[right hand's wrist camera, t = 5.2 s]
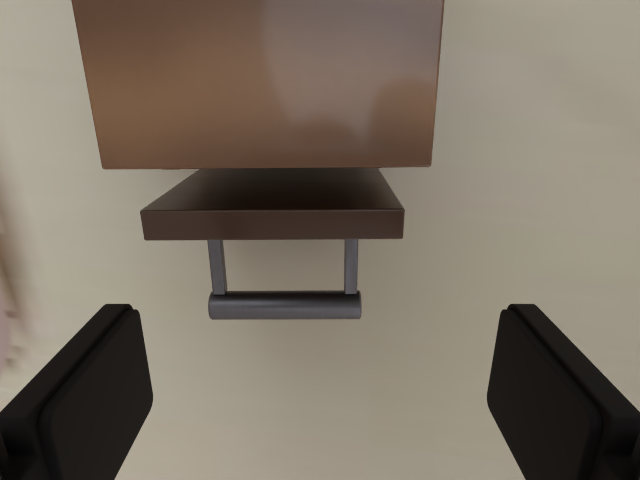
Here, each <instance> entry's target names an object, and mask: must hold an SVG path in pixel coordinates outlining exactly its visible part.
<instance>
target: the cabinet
mask: <svg viewBox="0 0 640 480" xmlns="http://www.w3.org/2000/svg"><path fill="white" fill-rule="evenodd" d="M72 5H73V11H74V16H75V22H76V27H77V33H78V38H79V44H80V49H81V54H82V60H83V65H84V71H85V76H86V82H87V87H88V92H89V98H90V103H91V109H92V114H93V120H94V125H95V130H96V136H97V141H98V147H99V152H100V158H101V163H102V168H103V169H224V168H359V167H430V166H431V160H432V148H433V136H434V123H435V111H436V99H437V86H438V74H439V61H440V49H441V37H442V24H443V12H444V0H72Z"/></svg>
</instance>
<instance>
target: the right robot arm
mask: <svg viewBox="0 0 640 480" xmlns="http://www.w3.org/2000/svg"><path fill="white" fill-rule="evenodd" d="M152 402H153V392H152V386H151V380H150V374H149V368H148V362H147V356H146V349H145V343H144V337H143V331H142V325H141V319H140V314H139V312H138V310H133V308H132V306H131V305H130V304H105V305H104V306H103V307H102V308H101V309H100V310H99V311H98V312H97V313H96V314H95V315H94V316H93V317H92V318H91V319H90V320H89V321H88V322H87V323H86V324H85V325H84V326H83V327H82V328H81V329H80V331H79V332H78V333H77V334H76V335H75V336H74V337H73V338H72V339H71V340H70V341H69V342H68V343H67V344H66V345H65V346H64V347H63V348H62V349H61V350H60V351H59V352H58V353H57V354H56V355H55V356H54V357H53V358H52V359H51V360H50V361H49V362H48V363H47V365H46V366H45V367H44V368H43V369H42V370H41V371H40V372H39V373H38V374H37V375H36V376H35V377H34V378H33V379H32V380H31V381H30V382H29V383H28V384H27V385H26V386H25V387H24V388H23V389H22V390H21V391H20V392H19V393H18V394H17V395H16V396H15V398H14V399H13V400H12V401H11V402H10V403H9V404H8V405H7V406H6V407H5V408H4V409H3V410H2V411H1V412H0V480H114V479H115V477H116V475H117V473H118V471H119V470H120V468H121V466H122V464H123V462H124V460H125V458H126V456H127V454H128V452H129V450H130V448H131V446H132V444H133V443H134V441H135V439H136V437H137V435H138V433H139V431H140V429H141V427H142V425H143V423H144V421H145V419H146V417H147V415H148V414H149V412H150V409H151V407H152ZM487 402H488V407H489V409H490V412H491V414H492V415H493V417H494V419H495V421H496V423H497V425H498V427H499V429H500V431H501V433H502V435H503V437H504V439H505V441H506V443H507V444H508V446H509V448H510V450H511V452H512V454H513V456H514V458H515V460H516V462H517V464H518V466H519V468H520V470H521V471H522V473H523V475H524V477H525V479H526V480H640V412H639V411H638V410H637V409H636V408H635V407H634V406H633V405H632V404H631V403H630V402H629V401H628V400H627V399H626V398H625V396H624V395H623V394H622V393H621V392H620V391H619V390H618V389H617V388H616V387H615V386H614V385H613V384H612V383H611V382H610V381H609V380H608V379H607V378H606V377H605V376H604V375H603V374H602V373H601V372H600V371H599V370H598V369H597V368H596V367H595V366H594V365H593V363H592V362H591V361H590V360H589V359H588V358H587V357H586V356H585V355H584V354H583V353H582V352H581V351H580V350H579V349H578V348H577V347H576V346H575V345H574V344H573V343H572V342H571V341H570V340H569V339H568V338H567V337H566V336H565V335H564V334H563V333H562V332H561V331H560V329H559V328H558V327H557V326H556V325H555V324H554V323H553V322H552V321H551V320H550V319H549V318H548V317H547V316H546V315H545V314H544V313H543V312H542V311H541V310H540V309H539V308H538V307H537V306H536V305H535V304H510V305H509V306H508V308H507V310H502V312H501V314H500V319H499V325H498V331H497V337H496V343H495V349H494V355H493V362H492V368H491V374H490V380H489V386H488V392H487Z"/></svg>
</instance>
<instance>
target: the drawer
mask: <svg viewBox="0 0 640 480" xmlns="http://www.w3.org/2000/svg"><path fill="white" fill-rule="evenodd" d="M378 168H381V167H359V168H224V169H199V170H198V171H196V172H195V173H193V174H192V175H191V176H189V177H188V178H186V179H185V180H183V181H182V182H181V183H179V184H178V185H176V186H175V187H174V188H172V189H171V190H169V191H168V192H166V193H165V194H164V195H162V196H161V197H159V198H158V199H156V200H155V201H154V202H152V203H151V204H149V205H148V206H146V207H145V208H144V209H142V210H141V211H140V214H141V220H142V227H143V233H144V239H145V240H208V250H209V259H210V269H211V278H212V288H213V292H211V294H210V297H209V303H208V311H209V316H210V318H211V319H212V320H232V319H360V317H361V293H360V291H358V290H357V265H358V239H402V238H403V228H404V212H405V210H404V208H403V206H402V205H401V203H400V202H399V200H398V199H397V197H396V196H395V194H394V192H393V191H392V189H391V188H390V186H389V185H388V183H387V182H386V180H385V178H384V177H383V175H382V174H381V172H380V171H379V169H378ZM293 239H345V253H344V291H227V280H226V269H225V258H224V248H223V240H293Z"/></svg>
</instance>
